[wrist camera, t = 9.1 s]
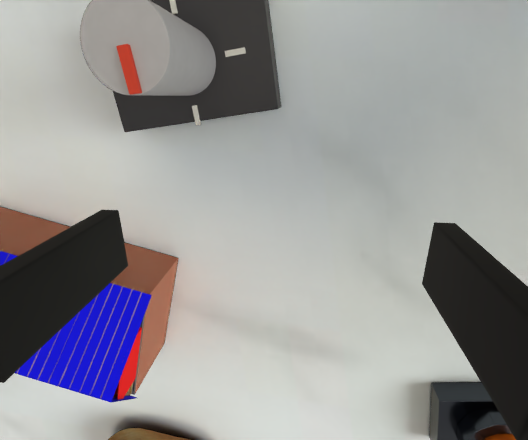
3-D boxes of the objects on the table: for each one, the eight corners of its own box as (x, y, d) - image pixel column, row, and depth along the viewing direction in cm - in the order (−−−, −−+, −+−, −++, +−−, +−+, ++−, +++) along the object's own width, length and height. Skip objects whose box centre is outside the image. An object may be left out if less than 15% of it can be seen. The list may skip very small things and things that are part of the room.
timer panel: (266, -16, 23) (260, -33, 20) (281, 111, 26) (278, 113, 23) (113, 18, 25) (87, 7, 22) (143, 132, 28) (124, 136, 25)
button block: (539, 381, 32) (570, 419, 28) (528, 438, 34) (555, 479, 31) (431, 382, 33) (446, 418, 30) (429, 436, 36) (443, 475, 32)
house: (-9, 201, 32) (-170, 254, 21) (182, 256, 32) (116, 339, 21) (-1, 297, 37) (-129, 381, 26) (166, 346, 36) (106, 453, 25)
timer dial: (147, 31, 22) (61, -3, 14) (209, 19, 21) (152, -25, 13) (163, 99, 23) (93, 101, 16) (221, 90, 23) (177, 87, 15)
